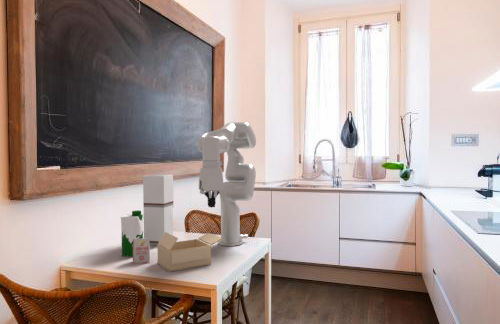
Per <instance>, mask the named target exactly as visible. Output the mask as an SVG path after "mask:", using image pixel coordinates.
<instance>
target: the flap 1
mask: <svg viewBox="0 0 500 324" xmlns="http://www.w3.org/2000/svg"><path fill="white" fill-rule="evenodd" d="M178 240H179V238H178V237H177V236H174V235H171V234H169V233H167V232H165V234H164V235H163V237H162V238H161V240H160V241H159V243H158V244H160V245H162V246H163V247H165V248H167V249H168V250H171V249H172V247H173V246H174V244H175V243H176V242H178Z"/></svg>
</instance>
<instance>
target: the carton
mask: <svg viewBox="0 0 500 324" xmlns="http://www.w3.org/2000/svg"><path fill="white" fill-rule="evenodd" d="M156 246H157V264H158V265H159V264H160V265H159V266H160V267H162V268H163V267H164V269H165V270H166V271H168V272H169V273H172V272H177V271H181V270H187V269H189V270H190V269H193V268H194V269H195V268H199V267H206V266H209V265H210V266H211V265H212V245H210V244H208V243H205V242H203V241H201V240H199V239H198V238H196V239H187V240H181V241H176V243H175V244H174V246H173V247H172V249H171V250H168V249H167V248H165V247H163V246H162V245H160V244H157V245H156Z"/></svg>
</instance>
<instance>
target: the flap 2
mask: <svg viewBox="0 0 500 324" xmlns="http://www.w3.org/2000/svg"><path fill="white" fill-rule="evenodd" d="M197 239H198V240H200V241H202V242H204V243H207V244H209V245H211V246H213V245H214V244H216V243H217V244H218V241H220V240H222V238H221V236H218V235H215V234H213V233H212V232H211V233H210V232H207V233H205V234H203V235H202V236H199V237H198V238H197Z"/></svg>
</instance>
